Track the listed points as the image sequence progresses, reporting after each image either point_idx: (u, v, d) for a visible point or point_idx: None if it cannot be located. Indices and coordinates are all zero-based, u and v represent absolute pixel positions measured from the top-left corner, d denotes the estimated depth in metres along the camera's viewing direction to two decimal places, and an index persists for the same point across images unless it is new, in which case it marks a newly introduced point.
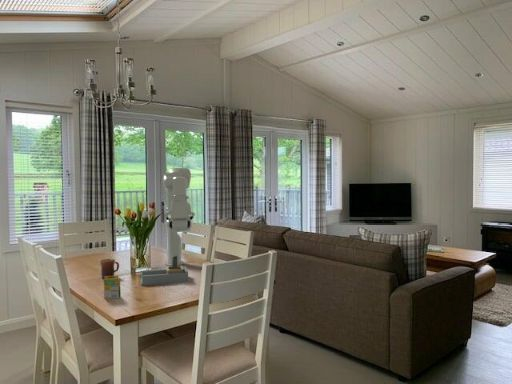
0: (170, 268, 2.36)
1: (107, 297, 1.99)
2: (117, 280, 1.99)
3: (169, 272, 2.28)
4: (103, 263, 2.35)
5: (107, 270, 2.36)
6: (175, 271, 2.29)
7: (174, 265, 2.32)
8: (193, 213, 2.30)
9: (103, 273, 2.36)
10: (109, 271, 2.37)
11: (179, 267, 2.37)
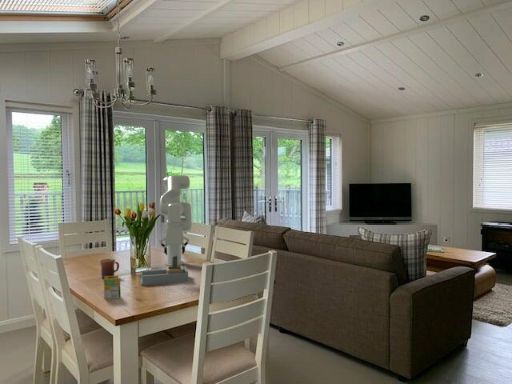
0: (170, 268, 2.36)
1: (107, 297, 1.99)
2: (117, 280, 1.98)
3: (169, 272, 2.28)
4: (103, 263, 2.35)
5: (107, 270, 2.36)
6: (175, 271, 2.29)
7: (174, 265, 2.32)
8: (188, 239, 2.33)
9: (103, 273, 2.36)
10: (109, 271, 2.37)
11: (179, 267, 2.37)
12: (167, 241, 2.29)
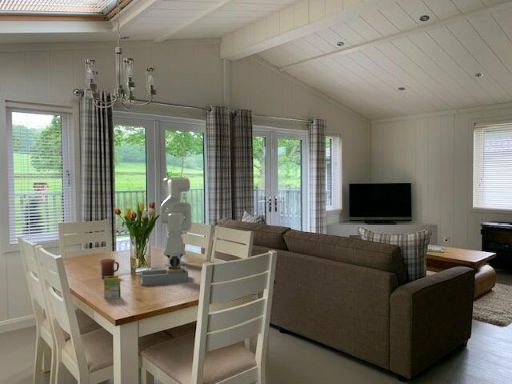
0: (170, 268, 2.36)
1: (107, 297, 1.99)
2: (117, 280, 1.98)
3: (169, 272, 2.28)
4: (103, 263, 2.35)
5: (107, 270, 2.36)
6: (175, 271, 2.29)
7: (174, 265, 2.32)
8: (184, 252, 2.34)
9: (103, 273, 2.36)
10: (109, 271, 2.37)
11: (179, 267, 2.37)
12: (167, 251, 2.29)
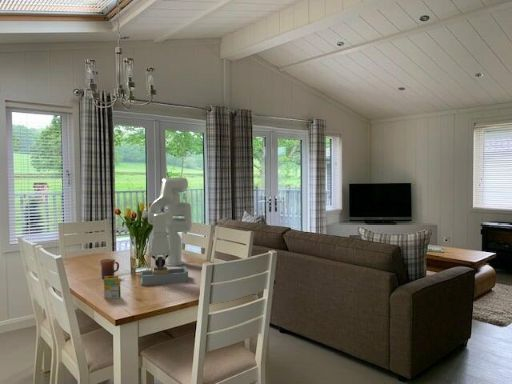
0: (156, 269, 2.34)
1: (107, 297, 1.99)
2: (117, 280, 1.98)
3: (154, 273, 2.25)
4: (103, 263, 2.35)
5: (107, 270, 2.36)
6: (160, 272, 2.26)
7: (159, 266, 2.29)
8: (170, 253, 2.31)
9: (103, 273, 2.36)
10: (109, 271, 2.37)
11: (165, 268, 2.35)
12: (152, 251, 2.27)
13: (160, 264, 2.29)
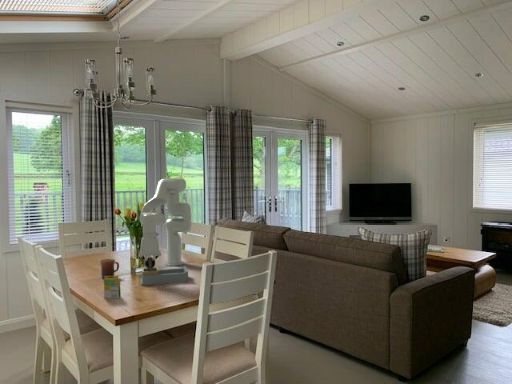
0: (146, 270, 2.32)
1: (107, 297, 1.99)
2: (117, 280, 1.98)
3: (144, 274, 2.24)
4: (103, 263, 2.35)
5: (107, 270, 2.36)
6: (150, 273, 2.25)
7: (149, 267, 2.28)
8: (160, 253, 2.30)
9: (103, 273, 2.36)
10: (109, 271, 2.37)
11: (155, 269, 2.34)
12: (142, 252, 2.25)
13: (150, 265, 2.28)
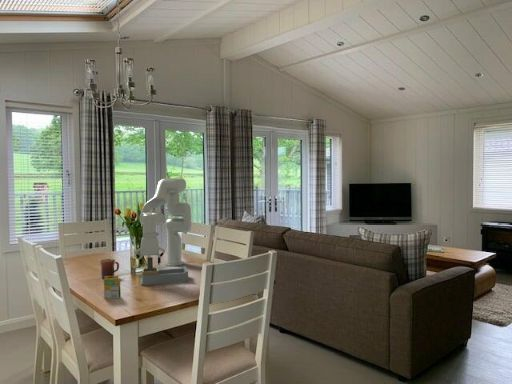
0: (146, 270, 2.32)
1: (107, 297, 1.99)
2: (117, 280, 1.98)
3: (144, 274, 2.24)
4: (103, 263, 2.35)
5: (107, 270, 2.36)
6: (150, 273, 2.25)
7: (149, 267, 2.28)
8: (163, 250, 2.30)
9: (103, 273, 2.36)
10: (109, 271, 2.37)
11: (155, 269, 2.34)
12: (142, 252, 2.25)
13: (150, 265, 2.28)
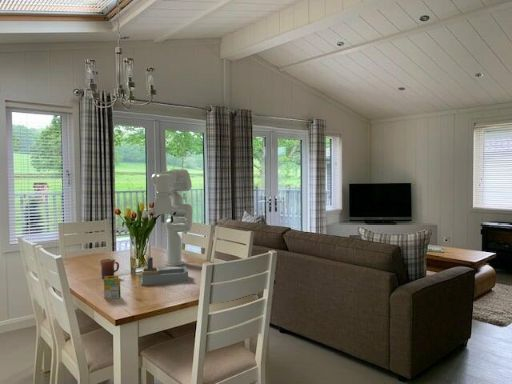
0: (146, 270, 2.32)
1: (107, 297, 1.99)
2: (117, 280, 1.98)
3: (144, 274, 2.24)
4: (103, 263, 2.35)
5: (107, 270, 2.36)
6: (150, 273, 2.25)
7: (149, 267, 2.28)
8: (176, 209, 2.41)
9: (103, 273, 2.36)
10: (109, 271, 2.37)
11: (155, 269, 2.34)
12: (156, 210, 2.36)
13: (150, 265, 2.28)
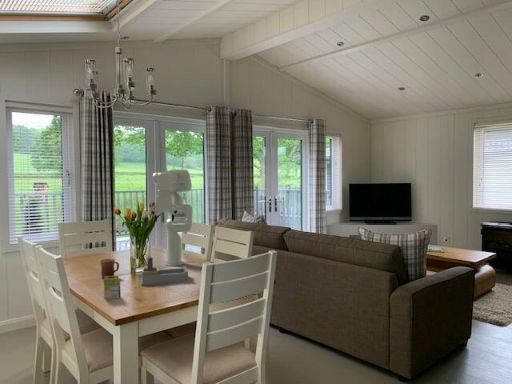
0: (146, 270, 2.32)
1: (107, 297, 1.99)
2: (117, 280, 1.98)
3: (144, 274, 2.24)
4: (103, 263, 2.35)
5: (107, 270, 2.36)
6: (150, 273, 2.25)
7: (149, 267, 2.28)
8: (177, 207, 2.42)
9: (103, 273, 2.36)
10: (109, 271, 2.37)
11: (155, 269, 2.34)
12: (157, 209, 2.37)
13: (150, 265, 2.28)
